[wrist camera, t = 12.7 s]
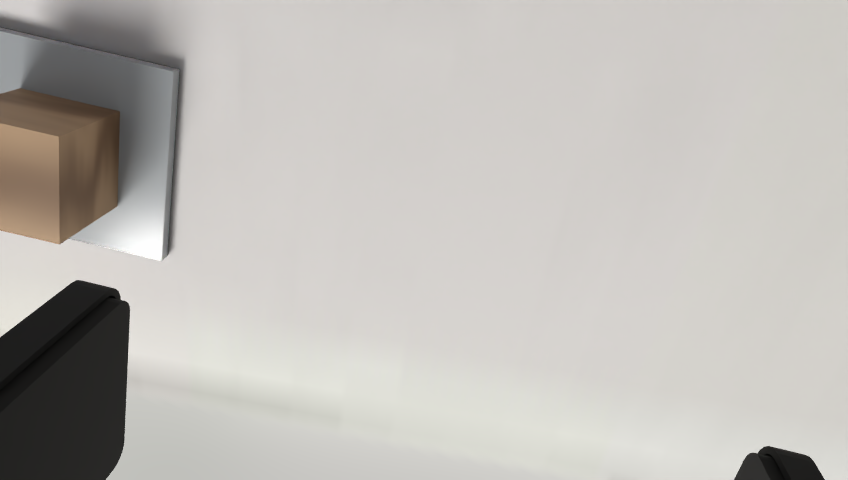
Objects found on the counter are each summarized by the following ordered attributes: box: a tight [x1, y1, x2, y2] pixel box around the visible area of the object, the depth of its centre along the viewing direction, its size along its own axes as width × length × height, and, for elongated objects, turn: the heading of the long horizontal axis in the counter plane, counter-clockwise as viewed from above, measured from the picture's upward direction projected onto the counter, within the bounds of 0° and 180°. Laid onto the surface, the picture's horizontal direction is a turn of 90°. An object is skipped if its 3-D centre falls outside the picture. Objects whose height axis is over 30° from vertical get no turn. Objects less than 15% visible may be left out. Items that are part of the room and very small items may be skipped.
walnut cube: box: [0, 88, 120, 244], centre depth 39 cm, size 6×6×6 cm
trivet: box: [0, 28, 180, 261], centre depth 42 cm, size 12×12×1 cm
